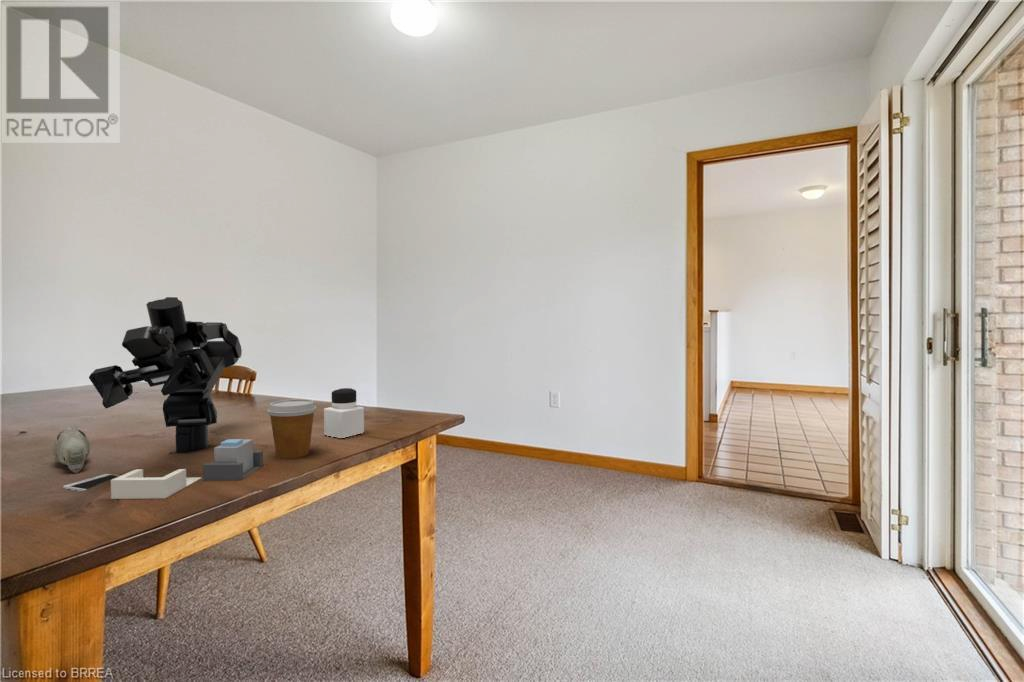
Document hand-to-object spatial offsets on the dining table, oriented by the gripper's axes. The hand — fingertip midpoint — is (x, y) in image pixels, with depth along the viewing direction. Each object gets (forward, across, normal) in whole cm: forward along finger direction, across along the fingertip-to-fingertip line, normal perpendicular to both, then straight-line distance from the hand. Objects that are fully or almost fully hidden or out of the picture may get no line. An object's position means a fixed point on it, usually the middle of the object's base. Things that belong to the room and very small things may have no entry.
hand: (134, 399), depth 81 cm
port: (+8, 0, +15) cm, 17 cm away
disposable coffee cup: (-7, +17, +26) cm, 32 cm away
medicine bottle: (-24, +24, +35) cm, 49 cm away
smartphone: (+3, -9, +15) cm, 18 cm away
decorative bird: (-12, -25, +18) cm, 33 cm away
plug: (+2, +10, +19) cm, 21 cm away
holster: (+2, +9, +20) cm, 22 cm away
